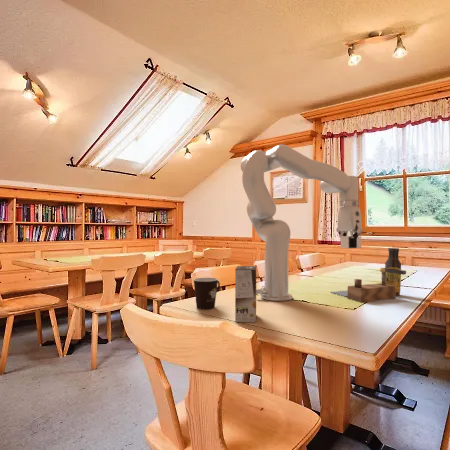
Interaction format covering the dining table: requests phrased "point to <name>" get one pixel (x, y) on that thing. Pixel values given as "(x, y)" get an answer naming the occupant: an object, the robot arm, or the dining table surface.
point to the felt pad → (341, 293)
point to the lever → (393, 271)
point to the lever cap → (346, 241)
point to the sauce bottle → (393, 264)
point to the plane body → (371, 291)
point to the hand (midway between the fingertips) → (348, 247)
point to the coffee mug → (206, 292)
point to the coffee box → (245, 294)
